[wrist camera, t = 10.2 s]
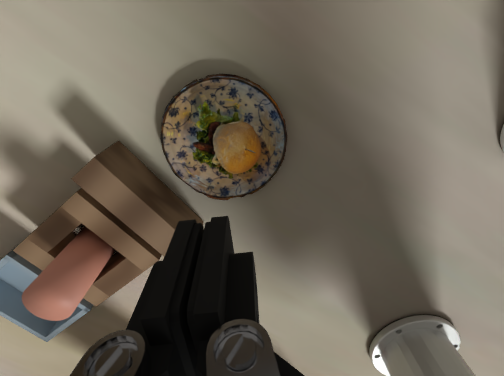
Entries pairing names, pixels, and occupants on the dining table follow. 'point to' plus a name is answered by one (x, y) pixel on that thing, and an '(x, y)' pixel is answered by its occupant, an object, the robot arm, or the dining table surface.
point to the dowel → (67, 277)
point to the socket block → (103, 225)
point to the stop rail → (134, 195)
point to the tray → (12, 308)
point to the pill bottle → (502, 138)
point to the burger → (223, 136)
